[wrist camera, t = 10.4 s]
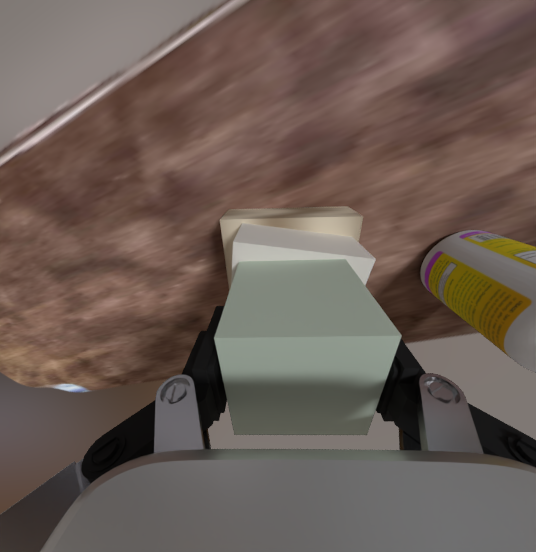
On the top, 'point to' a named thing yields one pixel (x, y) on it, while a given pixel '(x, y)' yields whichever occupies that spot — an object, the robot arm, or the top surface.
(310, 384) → the stack block
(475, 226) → the top surface
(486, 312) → the supplement bottle
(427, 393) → the robot arm
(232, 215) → the tower base block
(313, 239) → the tower top block
